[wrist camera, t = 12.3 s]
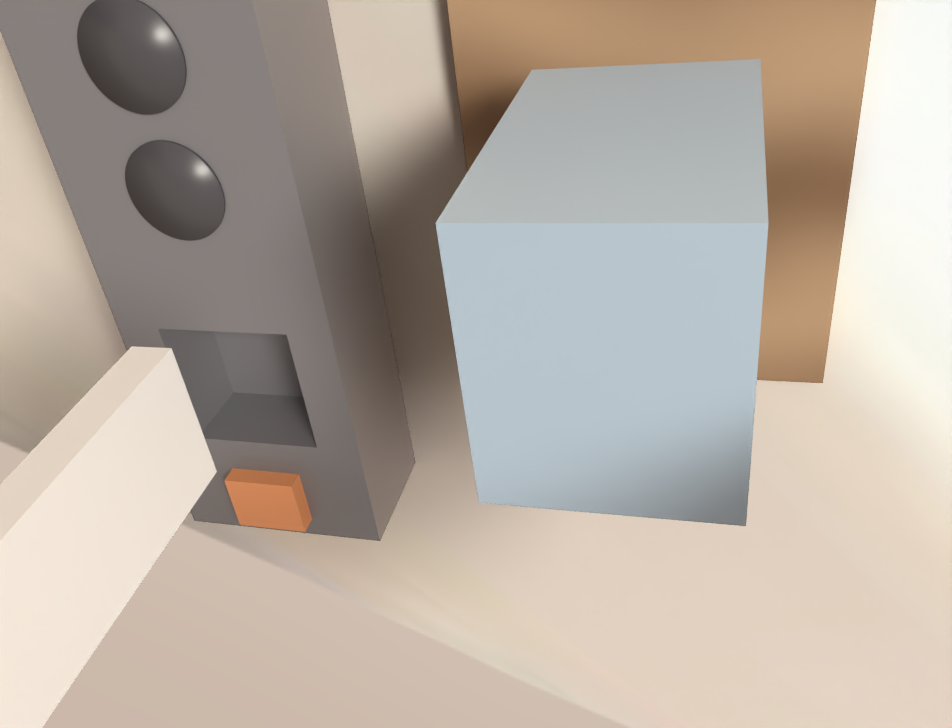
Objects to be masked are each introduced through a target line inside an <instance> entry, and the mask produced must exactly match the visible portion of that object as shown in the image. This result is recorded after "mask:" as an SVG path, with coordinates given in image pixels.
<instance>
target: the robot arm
mask: <svg viewBox="0 0 952 728" xmlns="http://www.w3.org/2000/svg"><path fill="white" fill-rule="evenodd" d="M216 472H217V470H216V468H215V465H214V462H213V460H212V457H211V454H210V451H209V449H208V446H207V443H206V441H205V438H204V435H203V432H202V430H201V427H200V424H199V422H198V419H197V416H196V413H195V411H194V408H193V405H192V402H191V400H190V397H189V394H188V392H187V389H186V386H185V383H184V381H183V378H182V375H181V373H180V370H179V367H178V364H177V362H176V359H175V356H174V354H173V351H172V348H156V347H134V346H132V347H131V348H130V349H129V350H128V351H127V352H126V353H125V354H124V355H123V356H122V357H121V358H120V359H119V360H118V361H117V362H116V363H115V364H114V365H113V366H112V367H111V368H110V370H109V371H108V372H107V373H106V374H105V375H104V376H103V377H102V378H101V379H100V380H99V381H98V382H97V383H96V384H95V385H94V386H93V387H92V388H91V389H90V390H89V392H88V393H87V394H86V395H85V396H84V397H83V398H82V399H81V400H80V401H79V402H78V403H77V404H76V405H75V406H74V407H73V408H72V409H71V410H70V411H69V412H68V413H67V415H66V416H65V417H64V418H63V419H62V420H61V421H60V422H59V423H58V424H57V425H56V426H55V427H54V428H53V429H52V430H51V431H50V432H49V433H48V434H47V435H46V436H45V438H44V439H43V440H42V441H41V442H40V443H39V444H38V445H37V446H36V447H35V448H34V449H33V450H32V451H31V452H30V453H29V454H28V455H27V456H26V457H25V458H24V460H23V461H22V462H21V463H20V464H19V465H18V466H17V467H16V468H15V469H14V470H13V471H12V472H11V473H10V474H9V475H8V476H7V477H6V478H5V479H4V481H2V483H1V484H0V728H42V727H43V726H44V724H45V723H46V721H47V720H48V718H49V717H50V715H51V714H52V712H53V711H54V709H55V708H56V706H57V705H58V704H59V702H60V701H61V699H62V698H63V696H64V695H65V693H66V692H67V690H68V689H69V687H70V686H71V685H72V683H73V681H74V680H75V679H76V677H77V676H78V674H79V673H80V671H81V670H82V668H83V667H84V666H85V664H86V662H87V661H88V659H89V658H90V657H91V655H92V654H93V652H94V651H95V649H96V648H97V647H98V645H99V643H100V642H101V640H102V639H103V637H104V636H105V635H106V633H107V632H108V630H109V629H110V627H111V626H112V625H113V623H114V622H115V620H116V619H117V617H118V616H119V614H120V613H121V611H122V610H123V608H124V607H125V605H126V604H127V603H128V601H129V600H130V598H131V597H132V595H133V594H134V592H135V591H136V589H137V588H138V586H139V585H140V584H141V582H142V581H143V579H144V578H145V576H146V575H147V573H148V572H149V570H150V569H151V567H152V566H153V564H154V563H155V562H156V560H157V559H158V557H159V556H160V554H161V553H162V551H163V550H164V548H165V547H166V545H167V544H168V543H169V541H170V540H171V538H172V537H173V535H174V534H175V532H176V531H177V529H178V528H179V526H180V525H181V524H182V522H183V521H184V519H185V518H186V516H187V515H188V513H189V512H190V510H191V509H192V507H193V506H194V505H195V503H196V502H197V500H198V499H199V497H200V496H201V494H202V493H203V491H204V490H205V488H206V487H207V486H208V484H209V483H210V481H211V480H212V478H213V477H214V475H215V474H216Z"/></svg>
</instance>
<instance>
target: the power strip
mask: <svg viewBox="0 0 952 728" xmlns="http://www.w3.org/2000/svg"><path fill="white" fill-rule="evenodd" d="M0 31H1V33H2V36H3V38H4V41H5V43H6V46H7V48H8V51H9V53H10V56H11V58H12V61H13V64H14V66H15V69H16V71H17V74H18V76H19V79H20V81H21V84H22V86H23V89H24V91H25V94H26V96H27V99H28V101H29V104H30V106H31V109H32V112H33V114H34V117H35V119H36V122H37V124H38V127H39V129H40V132H41V134H42V137H43V139H44V142H45V144H46V147H47V149H48V152H49V154H50V157H51V160H52V162H53V165H54V167H55V170H56V172H57V175H58V177H59V180H60V182H61V185H62V187H63V190H64V192H65V195H66V197H67V200H68V202H69V205H70V208H71V210H72V213H73V215H74V218H75V220H76V223H77V225H78V228H79V230H80V233H81V235H82V238H83V240H84V243H85V245H86V248H87V250H88V253H89V256H90V258H91V261H92V263H93V266H94V268H95V271H96V273H97V276H98V278H99V281H100V283H101V286H102V288H103V291H104V293H105V296H106V298H107V301H108V304H109V306H110V309H111V311H112V314H113V316H114V319H115V321H116V324H117V326H118V329H119V331H120V334H121V336H122V339H123V341H124V344H125V346H126V349H127V351H128V350H129V349H130V348H131V347H132V346H134V347H156V348H172V351H173V354H174V356H175V359H176V362H177V364H178V367H179V370H180V373H181V375H182V378H183V381H184V383H185V386H186V389H187V392H188V394H189V397H190V400H191V402H192V405H193V408H194V411H195V413H196V416H197V419H198V422H199V424H200V427H201V430H202V432H203V435H204V438H205V441H206V443H207V446H208V449H209V451H210V454H211V457H212V460H213V462H214V465H215V468H216V470H217V472H216V474H215V475H214V477H213V478H212V480H211V481H210V483H209V484H208V486H207V487H206V488H205V490H204V491H203V493H202V494H201V496H200V497H199V499H198V500H197V502H196V503H195V505H194V506H193V507H192V509H191V510H190V511H191V513H192V516H193V518H194V521H202V522H211V523H221V524H230V525H239V526H248V527H257V528H266V529H275V530H285V531H294V532H303V533H312V534H321V535H330V536H339V537H349V538H358V539H367V540H376V541H380V540H381V538H382V535H383V533H384V531H385V529H386V527H387V524H388V522H389V520H390V518H391V515H392V513H393V511H394V509H395V506H396V504H397V502H398V500H399V498H400V495H401V493H402V491H403V489H404V486H405V484H406V482H407V480H408V478H409V475H410V473H411V471H412V469H413V466H414V464H415V458H414V453H413V448H412V443H411V437H410V432H409V427H408V422H407V416H406V411H405V406H404V400H403V395H402V390H401V385H400V379H399V374H398V369H397V364H396V358H395V353H394V348H393V343H392V337H391V332H390V327H389V322H388V316H387V311H386V306H385V301H384V295H383V290H382V285H381V280H380V275H379V269H378V264H377V259H376V254H375V248H374V243H373V238H372V233H371V228H370V222H369V217H368V212H367V207H366V201H365V196H364V191H363V186H362V181H361V175H360V170H359V165H358V160H357V154H356V149H355V144H354V139H353V134H352V128H351V123H350V118H349V113H348V107H347V102H346V97H345V92H344V87H343V81H342V76H341V71H340V66H339V60H338V55H337V50H336V45H335V40H334V34H333V29H332V24H331V19H330V13H329V8H328V3H327V0H0Z"/></svg>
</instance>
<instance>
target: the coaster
mask: <svg viewBox="0 0 952 728" xmlns="http://www.w3.org/2000/svg"><path fill="white" fill-rule="evenodd" d="M447 5H448V14H449V22H450V31H451V39H452V47H453V56H454V64H455V73H456V81H457V90H458V98H459V107H460V115H461V124H462V132H463V140H464V149H465V157H466V166H467V172H468V171H469V169H470V167H471V166H472V164H473V163H474V161H475V159H476V158H477V156H478V155H479V153H480V151H481V150H482V148H483V147H484V145H485V144H486V142H487V140H488V139H489V137H490V136H491V134H492V132H493V131H494V129H495V128H496V126H497V124H498V123H499V121H500V120H501V118H502V116H503V115H504V113H505V112H506V110H507V109H508V107H509V105H510V104H511V102H512V101H513V99H514V97H515V96H516V94H517V93H518V91H519V89H520V88H521V86H522V85H523V83H524V81H525V80H526V78H527V77H528V75H529V74H530V72H531V70H537V69H558V68H579V67H601V66H622V65H643V64H664V63H686V62H707V61H728V60H749V59H761V79H762V99H763V120H764V140H765V161H766V181H767V202H768V222H769V223H768V237H767V250H766V264H765V277H764V290H763V304H762V317H761V330H760V344H759V357H758V371H757V380H772V381H791V382H810V383H823V377H824V370H825V363H826V356H827V348H828V341H829V334H830V327H831V320H832V313H833V305H834V298H835V291H836V284H837V277H838V270H839V262H840V255H841V248H842V241H843V234H844V227H845V220H846V212H847V205H848V198H849V191H850V184H851V177H852V169H853V162H854V155H855V148H856V141H857V134H858V126H859V119H860V112H861V105H862V98H863V91H864V83H865V76H866V69H867V62H868V55H869V48H870V41H871V33H872V26H873V19H874V12H875V5H876V0H447Z"/></svg>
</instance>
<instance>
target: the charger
mask: <svg viewBox="0 0 952 728" xmlns="http://www.w3.org/2000/svg"><path fill="white" fill-rule="evenodd" d="M768 223H769V222H768V202H767V181H766V161H765V140H764V120H763V99H762V79H761V59H749V60H728V61H707V62H686V63H664V64H643V65H622V66H601V67H579V68H558V69H537V70H531V72H530V74H529V75H528V77H527V78H526V80H525V81H524V83H523V85H522V86H521V88H520V89H519V91H518V93H517V94H516V96H515V97H514V99H513V101H512V102H511V104H510V105H509V107H508V109H507V110H506V112H505V113H504V115H503V116H502V118H501V120H500V121H499V123H498V124H497V126H496V128H495V129H494V131H493V132H492V134H491V136H490V137H489V139H488V140H487V142H486V144H485V145H484V147H483V148H482V150H481V151H480V153H479V155H478V156H477V158H476V159H475V161H474V163H473V164H472V166H471V167H470V169H469V171H468V172H467V174H466V175H465V177H464V178H463V180H462V182H461V183H460V185H459V186H458V188H457V190H456V191H455V193H454V194H453V196H452V198H451V199H450V201H449V202H448V204H447V206H446V207H445V209H444V210H443V212H442V213H441V215H440V217H439V218H438V220H437V221H436V230H437V236H438V243H439V249H440V256H441V262H442V268H443V275H444V281H445V288H446V294H447V301H448V307H449V314H450V320H451V326H452V333H453V339H454V346H455V352H456V359H457V365H458V372H459V378H460V384H461V391H462V397H463V404H464V410H465V417H466V423H467V430H468V436H469V442H470V449H471V455H472V462H473V468H474V475H475V481H476V488H477V494H478V500H479V503H485V504H497V505H509V506H520V507H532V508H543V509H555V510H566V511H578V512H590V513H601V514H613V515H624V516H636V517H647V518H659V519H670V520H682V521H694V522H705V523H717V524H728V525H740V526H746V518H747V504H748V491H749V478H750V464H751V451H752V437H753V424H754V411H755V397H756V384H757V371H758V357H759V344H760V330H761V317H762V304H763V290H764V277H765V264H766V250H767V237H768Z"/></svg>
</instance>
